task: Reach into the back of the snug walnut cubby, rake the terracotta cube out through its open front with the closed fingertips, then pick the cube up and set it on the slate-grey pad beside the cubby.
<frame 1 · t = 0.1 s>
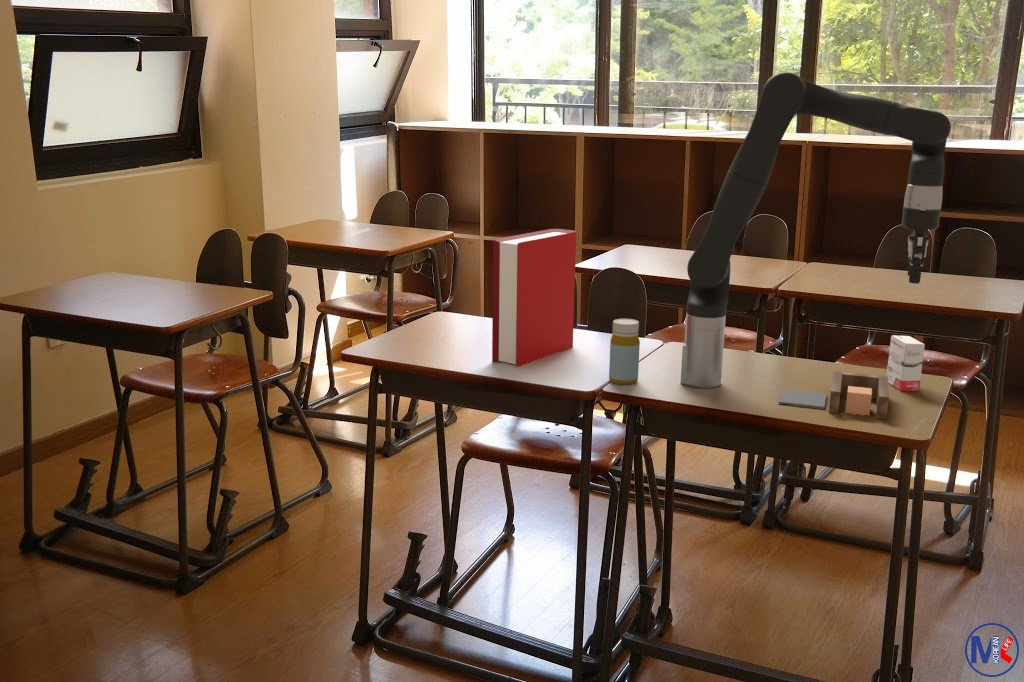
hand: (913, 279, 213), 29 cm above the table, tool pointing down, fingers open, 8 cm apart
book: (535, 354, 259), on the table
pad: (802, 400, 222), on the table
ink box: (902, 387, 234), on the table
cubby: (857, 404, 220), on the table
bottle: (623, 382, 235), on the table
cube: (857, 411, 215), on the table
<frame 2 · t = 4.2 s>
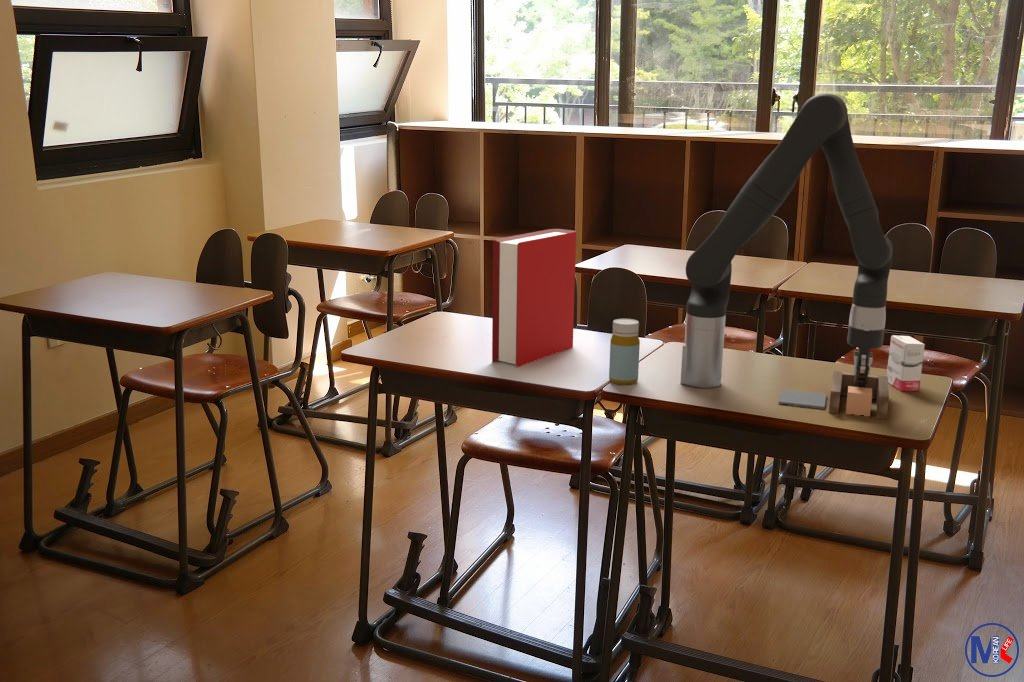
hand: (858, 398, 219), 2 cm above the table, tool pointing down, fingers closed
cube: (857, 411, 215), on the table, touching gripper
everything else where it was.
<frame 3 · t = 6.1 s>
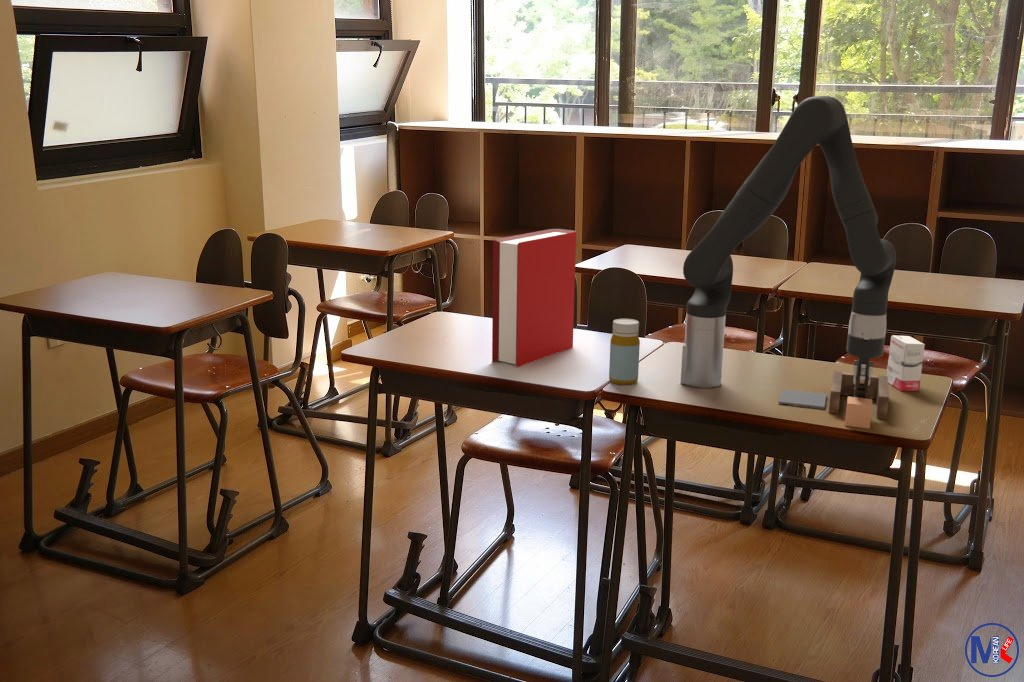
hand: (858, 409, 211), 2 cm above the table, tool pointing down, fingers closed
cube: (857, 423, 207), on the table, touching gripper
everything else where it was.
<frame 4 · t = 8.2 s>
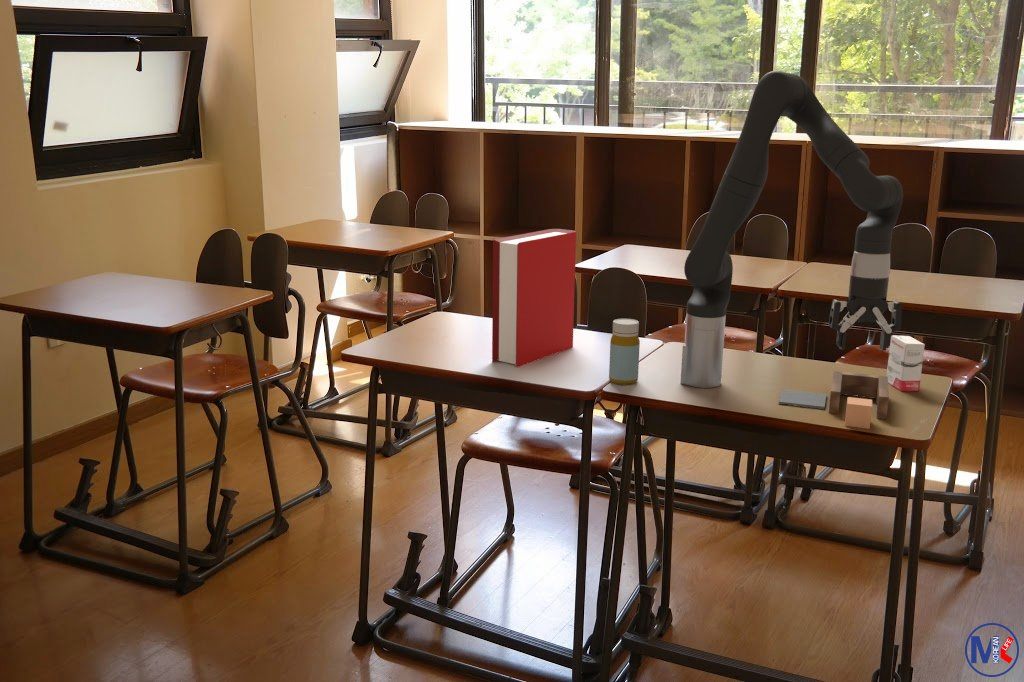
hand: (862, 349, 204), 16 cm above the table, tool pointing down, fingers open, 8 cm apart
cube: (857, 423, 207), on the table
everything else where it was.
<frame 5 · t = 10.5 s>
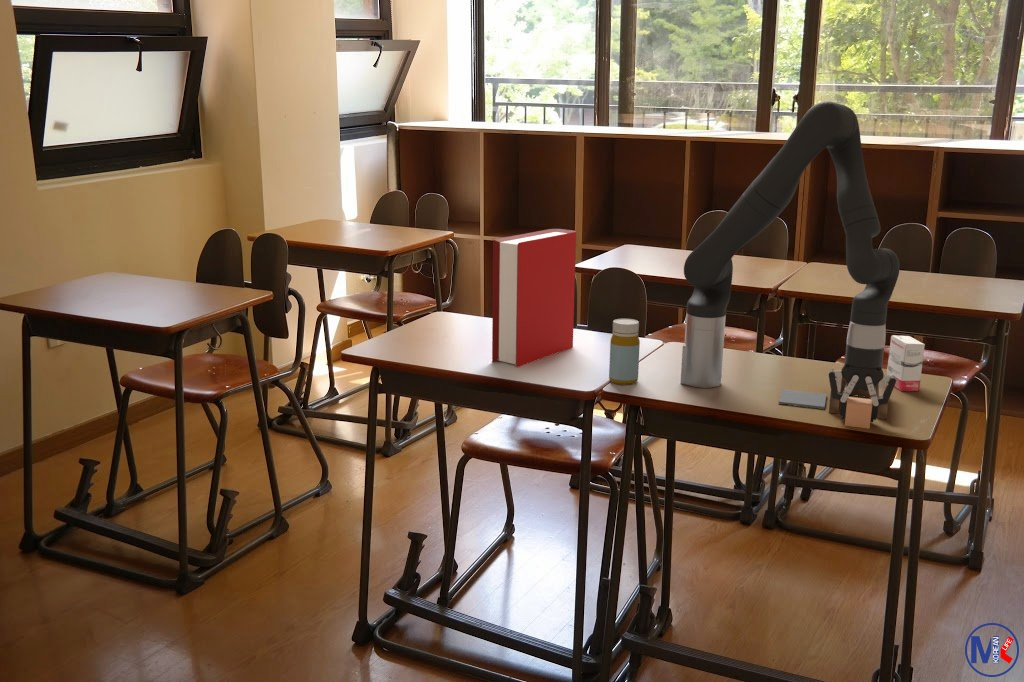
hand: (857, 419, 208), 1 cm above the table, tool pointing down, fingers closed on cube, 5 cm apart
cube: (857, 423, 207), on the table, touching gripper
everything else where it was.
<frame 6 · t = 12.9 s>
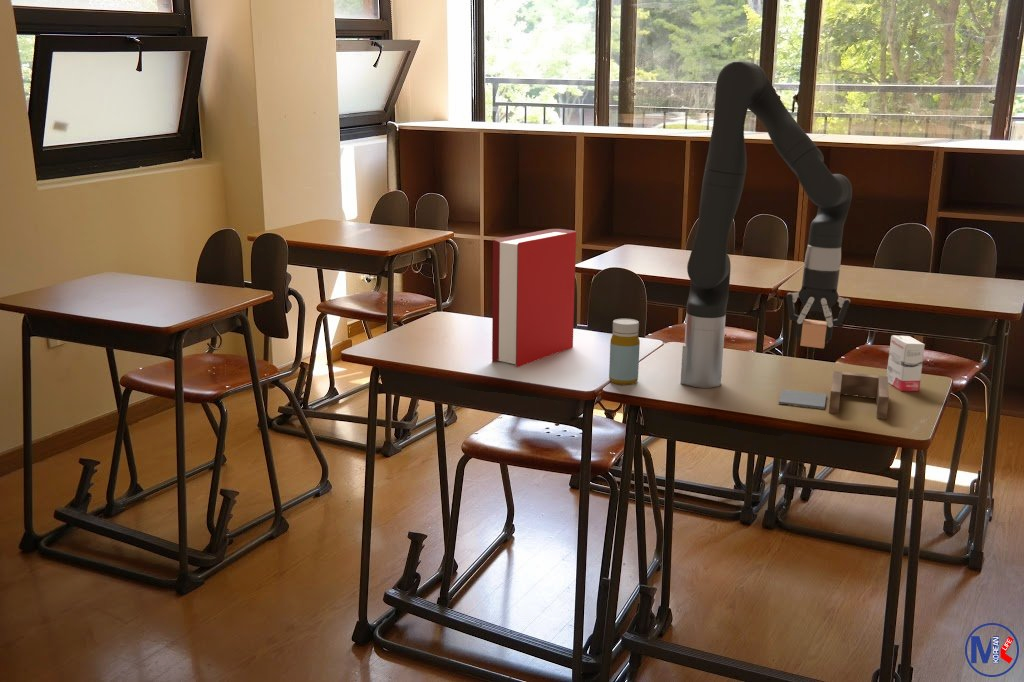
hand: (813, 340, 217), 15 cm above the table, tool pointing down, fingers closed on cube, 5 cm apart
cube: (812, 344, 216), point 14 cm above the table, touching gripper
everything else where it was.
when the fingers open (3 cm above the table, at t = 15.3 s): cube drops 1 cm, resting on pad.
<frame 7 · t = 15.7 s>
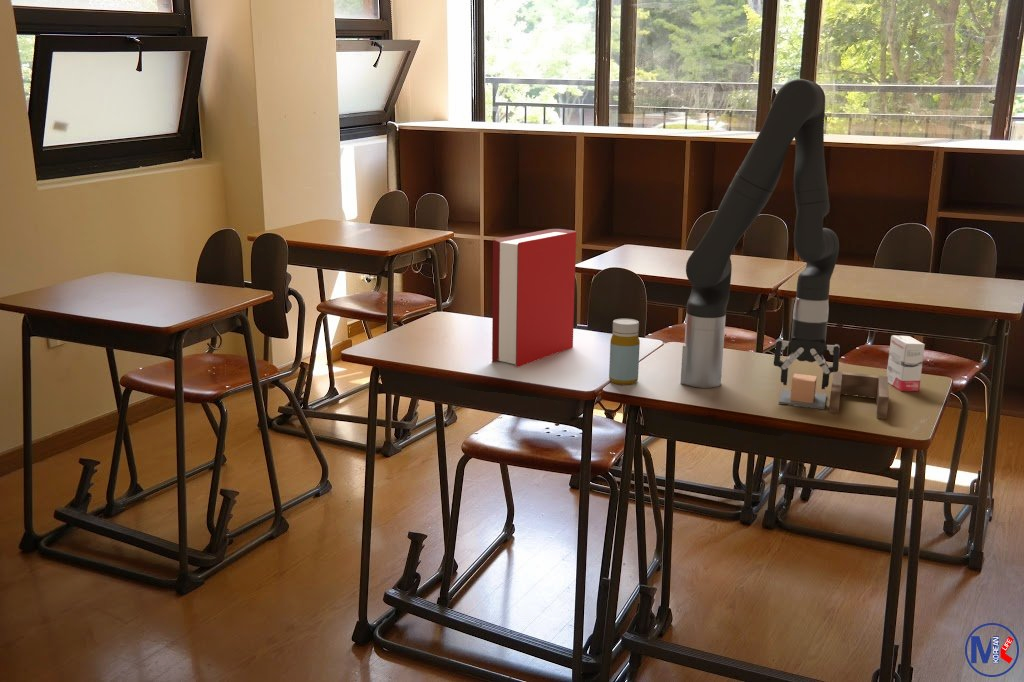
hand: (803, 386, 221), 3 cm above the table, tool pointing down, fingers open, 8 cm apart
cube: (802, 398, 222), point 1 cm above the table, touching pad
everything else where it was.
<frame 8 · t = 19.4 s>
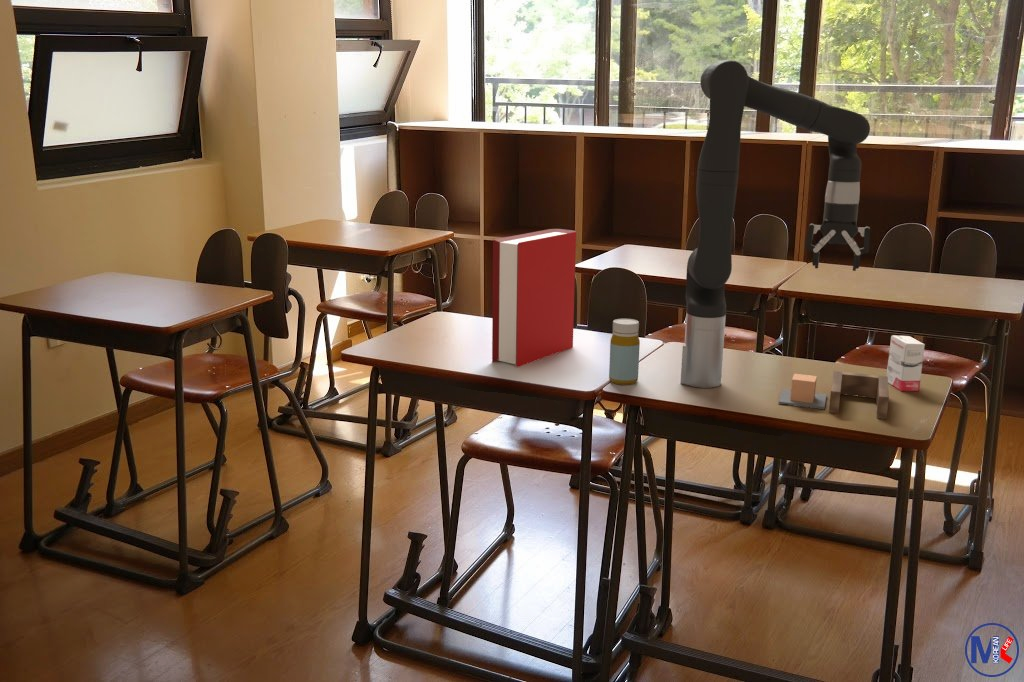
hand: (835, 269, 229), 28 cm above the table, tool pointing down, fingers open, 8 cm apart
nothing on the table moved.
at the end: cube 0.6 cm off-centre on the pad, point 0.6 cm above the pad's base; cube tilted 0°; the gripper is holding nothing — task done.
